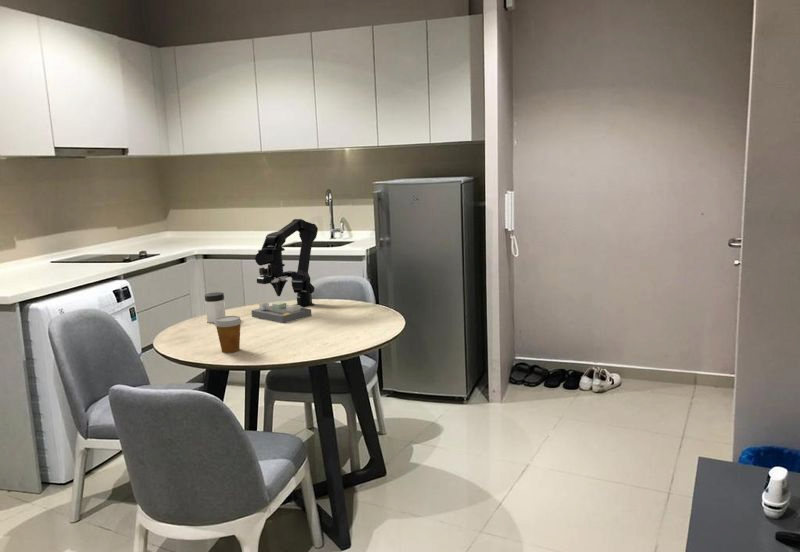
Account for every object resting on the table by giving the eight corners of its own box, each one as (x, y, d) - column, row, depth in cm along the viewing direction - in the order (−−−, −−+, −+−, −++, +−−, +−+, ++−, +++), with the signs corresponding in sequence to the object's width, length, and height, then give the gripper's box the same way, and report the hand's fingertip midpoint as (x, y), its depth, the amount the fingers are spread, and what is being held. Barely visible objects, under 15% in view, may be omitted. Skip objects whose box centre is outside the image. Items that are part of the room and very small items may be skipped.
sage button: (280, 307, 300) (280, 301, 299) (286, 308, 297) (286, 303, 296) (272, 309, 297) (272, 303, 296) (278, 310, 294) (278, 304, 293)
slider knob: (265, 308, 294) (264, 301, 293) (269, 308, 292) (268, 302, 291) (259, 309, 292) (259, 302, 291) (263, 310, 290) (263, 303, 289)
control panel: (280, 310, 305) (280, 303, 304) (311, 315, 290) (311, 308, 290) (251, 317, 293) (251, 310, 293) (282, 323, 278) (282, 316, 278)
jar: (211, 324, 283) (209, 296, 281) (202, 321, 289) (200, 294, 287) (230, 320, 289) (228, 293, 287) (221, 317, 295) (218, 291, 293)
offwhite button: (294, 309, 293) (294, 304, 293) (300, 310, 290) (300, 305, 290) (286, 311, 290) (286, 306, 290) (292, 312, 287) (292, 307, 287)
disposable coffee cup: (246, 346, 245) (243, 314, 243) (241, 353, 236) (238, 320, 234) (220, 347, 245) (217, 316, 243) (214, 354, 235) (211, 322, 233)
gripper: (281, 257, 305) (284, 290, 308) (248, 263, 292) (251, 298, 294) (296, 259, 298) (299, 293, 301) (263, 265, 284) (266, 300, 287)
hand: (278, 296), depth 296 cm, fingers closed
